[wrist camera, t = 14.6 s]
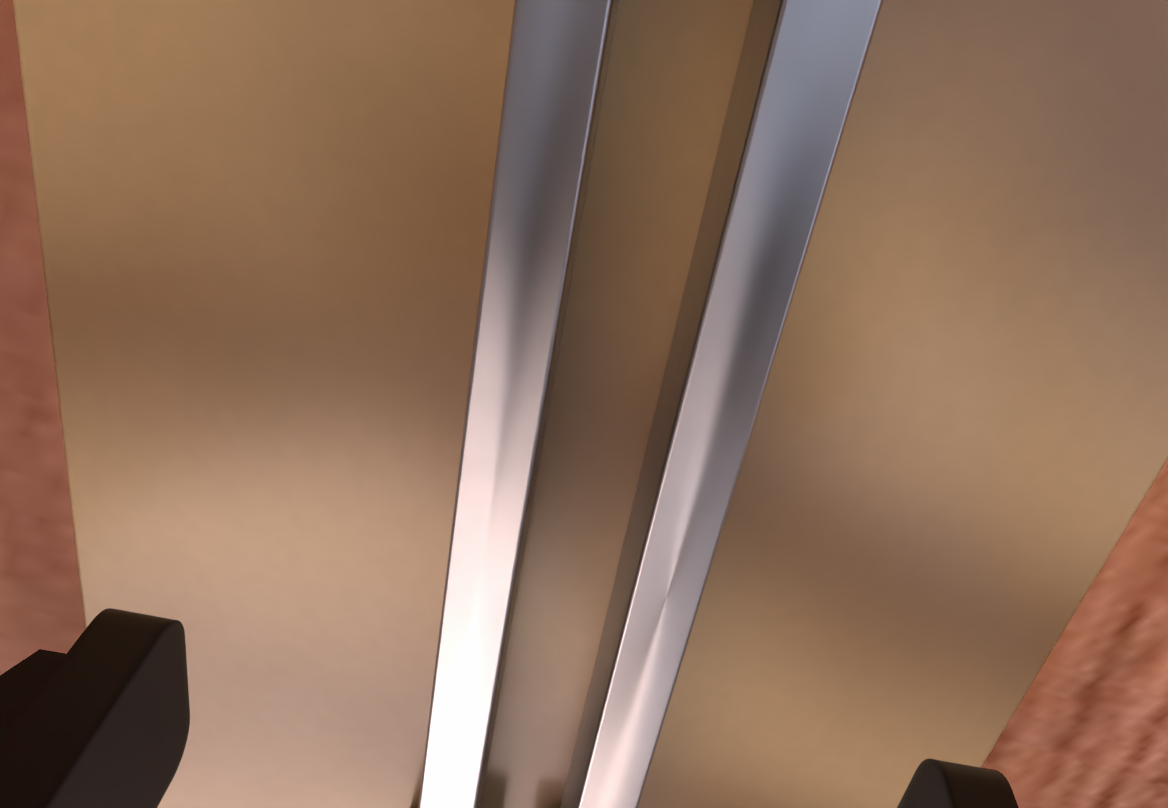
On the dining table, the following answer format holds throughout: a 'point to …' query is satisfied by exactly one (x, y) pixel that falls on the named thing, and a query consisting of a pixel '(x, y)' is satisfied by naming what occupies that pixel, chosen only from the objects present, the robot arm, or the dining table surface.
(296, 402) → the cutting board
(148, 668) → the robot arm
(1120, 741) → the dining table surface
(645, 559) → the steel tongs
